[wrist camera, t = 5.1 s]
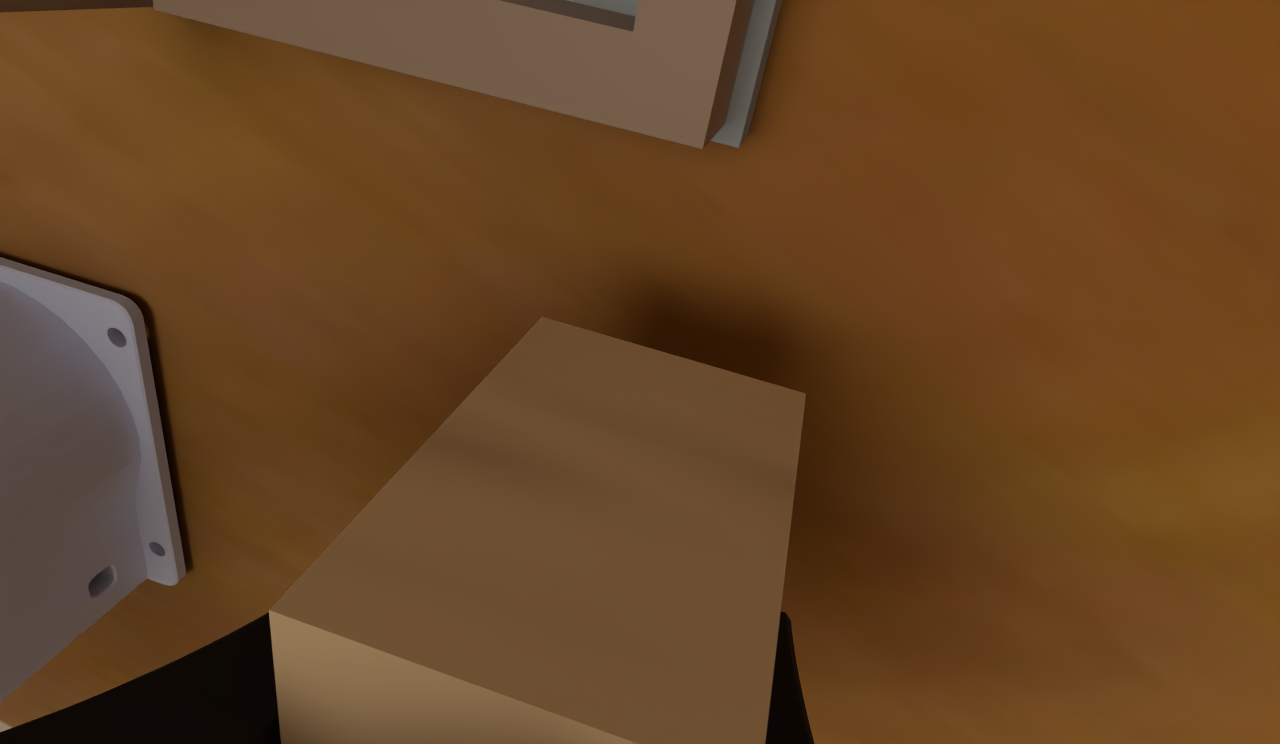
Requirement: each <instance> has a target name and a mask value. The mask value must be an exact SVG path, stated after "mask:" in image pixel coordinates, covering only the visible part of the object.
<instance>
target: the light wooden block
mask: <svg viewBox="0 0 1280 744" xmlns="http://www.w3.org/2000/svg"><path fill="white" fill-rule="evenodd" d="M805 399H806V393H803V392H799V391H796V390H792V389H789V388H786V387H782V386H779V385H775V384H772V383H768V382H765V381H762V380H758V379H755V378H751V377H748V376H744V375H741V374H738V373H734V372H731V371H727V370H724V369H720V368H717V367H713V366H710V365H707V364H703V363H700V362H696V361H693V360H689V359H686V358H683V357H679V356H676V355H672V354H669V353H665V352H662V351H659V350H655V349H652V348H648V347H645V346H641V345H638V344H634V343H631V342H628V341H624V340H621V339H617V338H614V337H610V336H607V335H604V334H600V333H597V332H593V331H590V330H586V329H583V328H580V327H576V326H573V325H569V324H566V323H562V322H559V321H556V320H552V319H549V318H545V317H541V318H540V319H539V320H538V321H537V322H536V323H535V324H534V326H533V327H532V328H531V329H530V330H529V331H528V332H527V333H526V334H525V335H524V336H523V337H522V338H521V340H520V341H519V342H518V343H517V344H516V345H515V346H514V347H513V348H512V349H511V350H510V351H509V352H508V354H507V355H506V356H505V357H504V358H503V359H502V360H501V361H500V362H499V363H498V364H497V365H496V366H495V367H494V369H493V370H492V371H491V372H490V373H489V374H488V375H487V376H486V377H485V378H484V379H483V380H482V381H481V383H480V384H479V385H478V386H477V387H476V388H475V389H474V390H473V391H472V392H471V393H470V394H469V395H468V396H467V398H466V399H465V400H464V401H463V402H462V403H461V404H460V405H459V406H458V407H457V408H456V409H455V410H454V412H453V413H452V414H451V415H450V416H449V417H448V418H447V419H446V420H445V421H444V422H443V423H442V424H441V425H440V427H439V428H438V429H437V430H436V431H435V432H434V433H433V434H432V435H431V436H430V437H429V438H428V439H427V441H426V442H425V443H424V444H423V445H422V446H421V447H420V448H419V449H418V450H417V451H416V452H415V453H414V454H413V456H412V457H411V458H410V459H409V460H408V461H407V462H406V463H405V464H404V465H403V466H402V467H401V468H400V470H399V471H398V472H397V473H396V474H395V475H394V476H393V477H392V478H391V479H390V480H389V481H388V482H387V483H386V485H385V486H384V487H383V488H382V489H381V490H380V491H379V492H378V493H377V494H376V495H375V496H374V497H373V499H372V500H371V501H370V502H369V503H368V504H367V505H366V506H365V507H364V508H363V509H362V510H361V511H360V513H359V514H358V515H357V516H356V517H355V518H354V519H353V520H352V521H351V522H350V523H349V524H348V525H347V526H346V528H345V529H344V530H343V531H342V532H341V533H340V534H339V535H338V536H337V537H336V538H335V539H334V540H333V542H332V543H331V544H330V545H329V546H328V547H327V548H326V549H325V550H324V551H323V552H322V553H321V554H320V555H319V557H318V558H317V559H316V560H315V561H314V562H313V563H312V564H311V565H310V566H309V567H308V568H307V569H306V571H305V572H304V573H303V574H302V575H301V576H300V577H299V578H298V579H297V580H296V581H295V582H294V583H293V584H292V586H291V587H290V588H289V589H288V590H287V591H286V592H285V593H284V594H283V595H282V596H281V597H280V598H279V600H278V601H277V602H276V603H275V604H274V605H273V606H272V607H271V608H270V609H269V618H270V629H271V640H272V651H273V661H274V672H275V683H276V694H277V704H278V715H279V726H280V737H281V744H765V741H766V733H767V724H768V716H769V707H770V698H771V690H772V681H773V673H774V664H775V656H776V647H777V638H778V630H779V621H780V613H781V604H782V596H783V587H784V579H785V570H786V561H787V553H788V544H789V536H790V527H791V519H792V510H793V501H794V493H795V484H796V476H797V467H798V459H799V450H800V441H801V433H802V424H803V416H804V407H805Z"/></svg>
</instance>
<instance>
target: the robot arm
mask: <svg viewBox="0 0 1280 744" xmlns="http://www.w3.org/2000/svg"><path fill="white" fill-rule="evenodd" d="M185 575H186V568H185V562H184V556H183V550H182V544H181V538H180V532H179V526H178V520H177V514H176V508H175V503H174V497H173V491H172V485H171V479H170V473H169V467H168V461H167V455H166V449H165V443H164V437H163V431H162V425H161V419H160V413H159V407H158V401H157V395H156V389H155V383H154V377H153V371H152V365H151V360H150V354H149V348H148V342H147V336H146V330H145V324H144V318H143V315H142V312H141V310H140V309H139V307H138V306H137V304H135V303H134V302H133V301H132V300H131V299H129V298H127V297H125V296H123V295H120V294H117V293H114V292H111V291H108V290H104V289H101V288H98V287H95V286H91V285H88V284H85V283H82V282H79V281H75V280H72V279H69V278H66V277H63V276H59V275H56V274H53V273H50V272H47V271H43V270H40V269H37V268H34V267H30V266H27V265H24V264H21V263H18V262H14V261H11V260H8V259H5V258H2V257H0V702H1V701H3V700H4V699H5V698H6V697H7V696H9V695H10V694H11V693H12V692H13V691H14V690H16V689H17V688H18V687H19V686H20V685H22V684H23V683H24V682H25V681H26V680H27V679H29V678H30V677H31V676H32V675H33V674H35V673H36V672H37V671H38V670H39V669H40V668H42V667H43V666H44V665H45V664H46V663H48V662H49V661H50V660H51V659H52V658H54V657H55V656H56V655H57V654H58V653H59V652H61V651H62V650H63V649H64V648H65V647H67V646H68V645H69V644H70V643H71V642H72V641H74V640H75V639H76V638H77V637H78V636H80V635H81V634H82V633H83V632H84V631H85V630H87V629H88V628H89V627H90V626H91V625H93V624H94V623H95V622H96V621H97V620H99V619H100V618H101V617H102V616H103V615H104V614H106V613H107V612H108V611H109V610H110V609H112V608H113V607H114V606H115V605H116V604H117V603H119V602H120V601H121V600H122V599H123V598H125V597H126V596H127V595H128V594H129V593H130V592H132V591H133V590H134V589H135V588H136V587H138V586H139V585H140V584H141V583H142V582H144V581H145V580H146V579H150V580H153V581H155V582H158V583H161V584H164V585H168V586H172V585H176V584H177V583H178V582H179V581H180V580H181V579H182V578H183V577H184V576H185ZM0 744H281V737H280V726H279V715H278V704H277V694H276V683H275V672H274V661H273V651H272V640H271V629H270V618H269V612H268V613H267V614H265V615H263V616H261V617H260V618H258V619H256V620H254V621H252V622H251V623H249V624H247V625H245V626H243V627H241V628H239V629H237V630H236V631H234V632H232V633H230V634H228V635H226V636H224V637H222V638H220V639H218V640H216V641H214V642H212V643H211V644H209V645H206V646H204V647H202V648H200V649H198V650H196V651H194V652H192V653H190V654H188V655H186V656H184V657H182V658H180V659H178V660H176V661H174V662H171V663H169V664H167V665H165V666H163V667H161V668H158V669H156V670H154V671H152V672H149V673H147V674H145V675H143V676H140V677H138V678H136V679H134V680H131V681H129V682H127V683H125V684H122V685H120V686H118V687H116V688H113V689H111V690H109V691H106V692H104V693H102V694H99V695H97V696H94V697H92V698H90V699H87V700H85V701H82V702H80V703H77V704H75V705H72V706H70V707H67V708H65V709H62V710H59V711H57V712H54V713H51V714H49V715H46V716H43V717H41V718H38V719H35V720H32V721H30V722H27V723H24V724H22V725H19V726H16V727H14V728H11V729H8V730H6V731H3V732H0ZM765 744H814V741H813V737H812V733H811V729H810V725H809V721H808V717H807V712H806V708H805V704H804V699H803V694H802V689H801V684H800V680H799V674H798V669H797V663H796V657H795V651H794V644H793V637H792V628H791V621H790V619H789V617H788V616H787V614H786V613H785V612H782V611H781V613H780V621H779V630H778V638H777V647H776V656H775V664H774V673H773V681H772V690H771V698H770V707H769V716H768V724H767V733H766V741H765Z"/></svg>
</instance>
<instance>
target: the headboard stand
mask: <svg viewBox="0 0 1280 744" xmlns="http://www.w3.org/2000/svg"><path fill="white" fill-rule="evenodd" d="M782 1H783V0H0V12H21V11H48V10H75V9H102V8H130V7H154V10H156V11H160V12H164V13H168V14H172V15H176V16H180V17H184V18H188V19H192V20H196V21H200V22H204V23H208V24H212V25H215V26H219V27H223V28H227V29H231V30H235V31H239V32H243V33H247V34H251V35H255V36H259V37H263V38H267V39H271V40H275V41H279V42H282V43H286V44H290V45H294V46H298V47H302V48H306V49H310V50H314V51H318V52H322V53H326V54H330V55H334V56H338V57H342V58H346V59H349V60H353V61H357V62H361V63H365V64H369V65H373V66H377V67H381V68H385V69H389V70H393V71H397V72H401V73H405V74H409V75H413V76H417V77H420V78H424V79H428V80H432V81H436V82H440V83H444V84H448V85H452V86H456V87H460V88H464V89H468V90H472V91H476V92H480V93H484V94H487V95H491V96H495V97H499V98H503V99H507V100H511V101H515V102H519V103H523V104H527V105H531V106H535V107H539V108H543V109H547V110H551V111H554V112H558V113H562V114H566V115H570V116H574V117H578V118H582V119H586V120H590V121H594V122H598V123H602V124H606V125H610V126H614V127H618V128H621V129H625V130H629V131H633V132H637V133H641V134H645V135H649V136H653V137H657V138H661V139H665V140H669V141H673V142H677V143H681V144H685V145H688V146H692V147H696V148H700V149H703V148H704V147H705V146H706V145H707V144H708V143H709V142H710V141H713V142H717V143H721V144H725V145H729V146H733V147H737V148H739V147H740V146H741V144H742V143H743V142H744V140H745V139H746V137H747V136H748V134H749V130H750V126H751V122H752V118H753V114H754V110H755V106H756V103H757V99H758V95H759V91H760V87H761V83H762V79H763V75H764V71H765V67H766V63H767V60H768V56H769V52H770V48H771V44H772V40H773V36H774V32H775V28H776V24H777V20H778V17H779V13H780V9H781V5H782Z"/></svg>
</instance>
